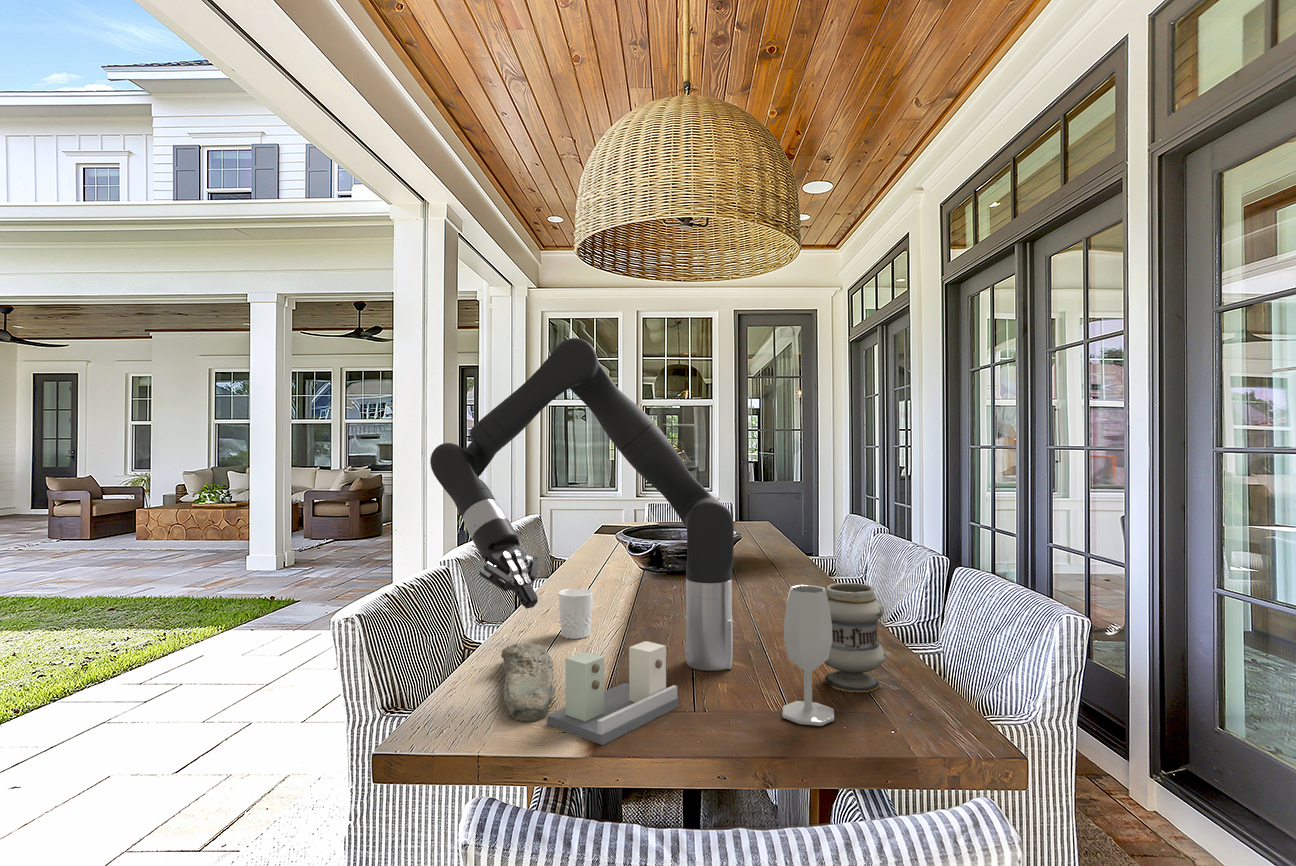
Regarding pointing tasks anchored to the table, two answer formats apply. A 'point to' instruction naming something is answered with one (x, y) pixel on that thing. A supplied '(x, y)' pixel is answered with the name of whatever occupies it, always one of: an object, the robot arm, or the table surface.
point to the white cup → (575, 612)
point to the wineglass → (808, 648)
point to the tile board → (617, 714)
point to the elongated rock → (527, 681)
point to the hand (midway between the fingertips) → (532, 605)
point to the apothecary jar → (854, 637)
